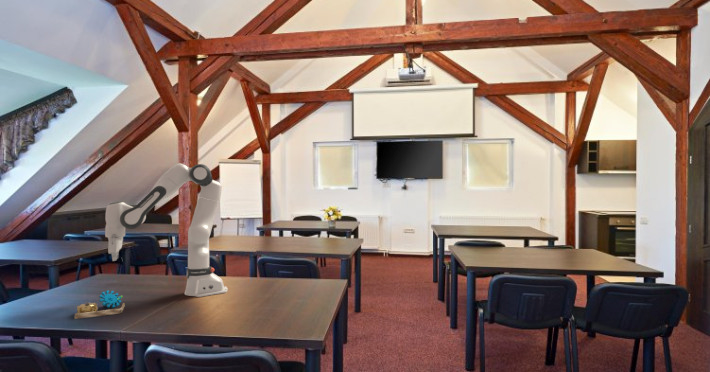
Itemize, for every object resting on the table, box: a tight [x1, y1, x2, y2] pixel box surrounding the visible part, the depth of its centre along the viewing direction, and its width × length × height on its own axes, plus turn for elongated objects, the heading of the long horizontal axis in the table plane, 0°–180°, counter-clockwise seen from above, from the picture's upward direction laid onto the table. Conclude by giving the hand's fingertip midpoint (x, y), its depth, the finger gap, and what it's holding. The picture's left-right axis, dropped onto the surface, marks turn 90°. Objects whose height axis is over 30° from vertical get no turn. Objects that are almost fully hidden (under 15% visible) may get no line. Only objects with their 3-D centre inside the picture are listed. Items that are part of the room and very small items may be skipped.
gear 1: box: [76, 301, 98, 313], centre depth 173 cm, size 7×7×4 cm
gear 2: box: [98, 290, 124, 309], centre depth 184 cm, size 11×6×10 cm
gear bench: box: [74, 302, 126, 320], centre depth 175 cm, size 18×12×2 cm
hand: (115, 259), depth 193 cm, fingers open, 4 cm apart
